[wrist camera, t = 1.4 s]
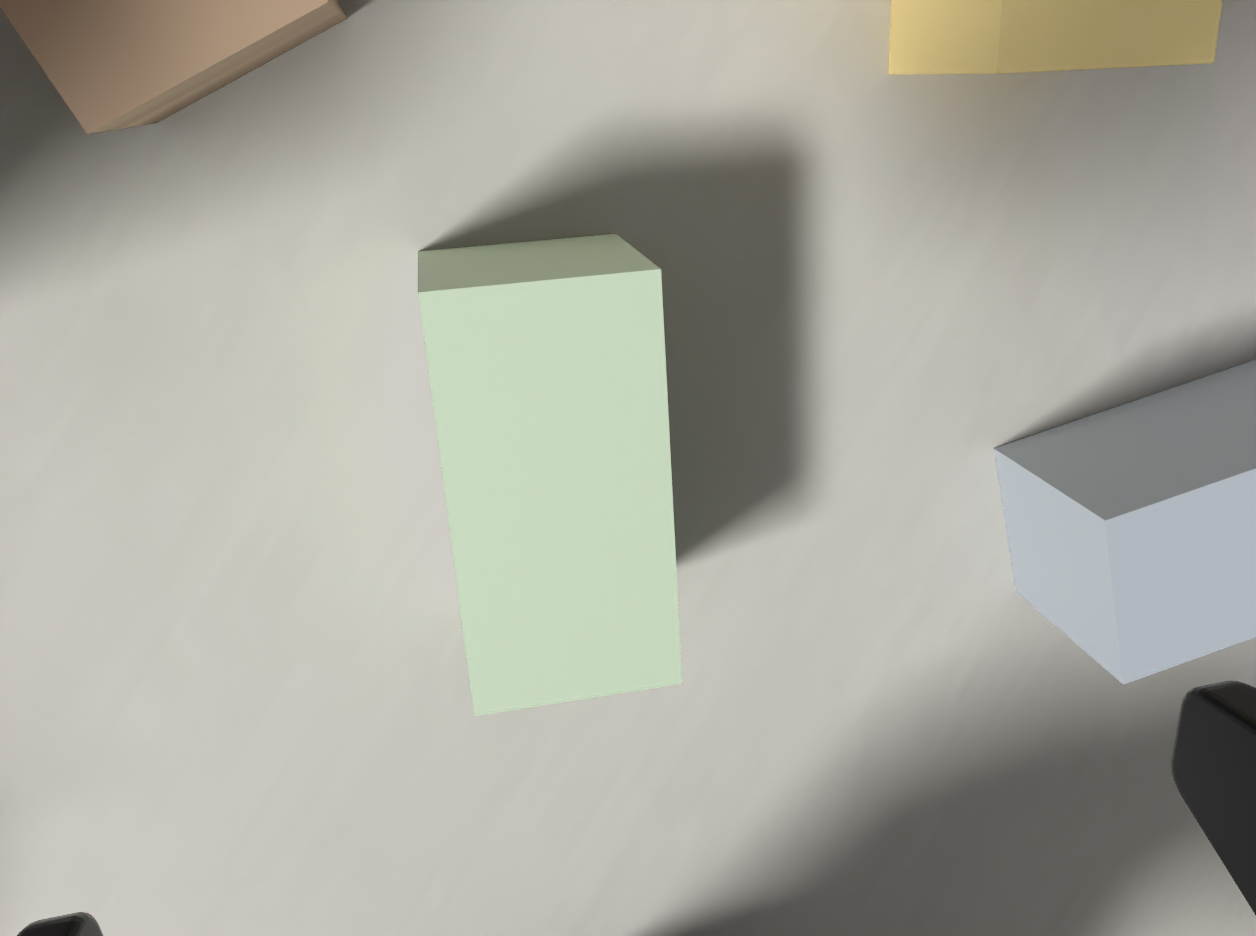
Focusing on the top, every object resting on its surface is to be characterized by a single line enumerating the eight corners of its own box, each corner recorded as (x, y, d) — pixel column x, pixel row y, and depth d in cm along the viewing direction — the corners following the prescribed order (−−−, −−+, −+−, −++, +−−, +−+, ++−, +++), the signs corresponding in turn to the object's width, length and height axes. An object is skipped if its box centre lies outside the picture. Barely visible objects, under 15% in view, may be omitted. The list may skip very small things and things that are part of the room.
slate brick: (1295, 342, 23) (1467, 395, 19) (1299, 488, 24) (1460, 563, 20) (990, 446, 22) (1105, 520, 18) (1012, 588, 23) (1123, 684, 20)
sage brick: (637, 580, 22) (682, 683, 18) (464, 605, 21) (474, 716, 17) (614, 232, 19) (661, 269, 15) (417, 250, 19) (418, 293, 15)
